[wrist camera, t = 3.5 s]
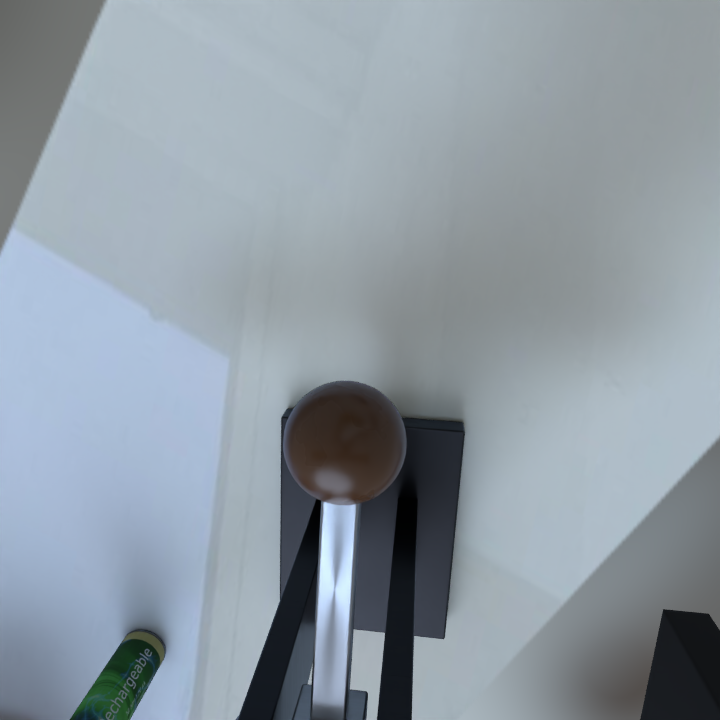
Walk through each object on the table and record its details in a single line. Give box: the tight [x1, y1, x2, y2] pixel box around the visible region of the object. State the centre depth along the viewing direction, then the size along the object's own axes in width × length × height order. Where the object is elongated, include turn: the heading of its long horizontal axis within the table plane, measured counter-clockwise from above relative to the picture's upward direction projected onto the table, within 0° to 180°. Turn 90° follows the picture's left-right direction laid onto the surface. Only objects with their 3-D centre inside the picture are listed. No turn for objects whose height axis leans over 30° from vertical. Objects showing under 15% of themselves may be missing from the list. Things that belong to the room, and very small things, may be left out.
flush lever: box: [283, 381, 407, 720], centre depth 18 cm, size 13×4×4 cm, turn 177°
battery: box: [70, 630, 165, 720], centre depth 32 cm, size 3×3×10 cm
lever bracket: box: [236, 409, 465, 720], centre depth 25 cm, size 12×9×16 cm
